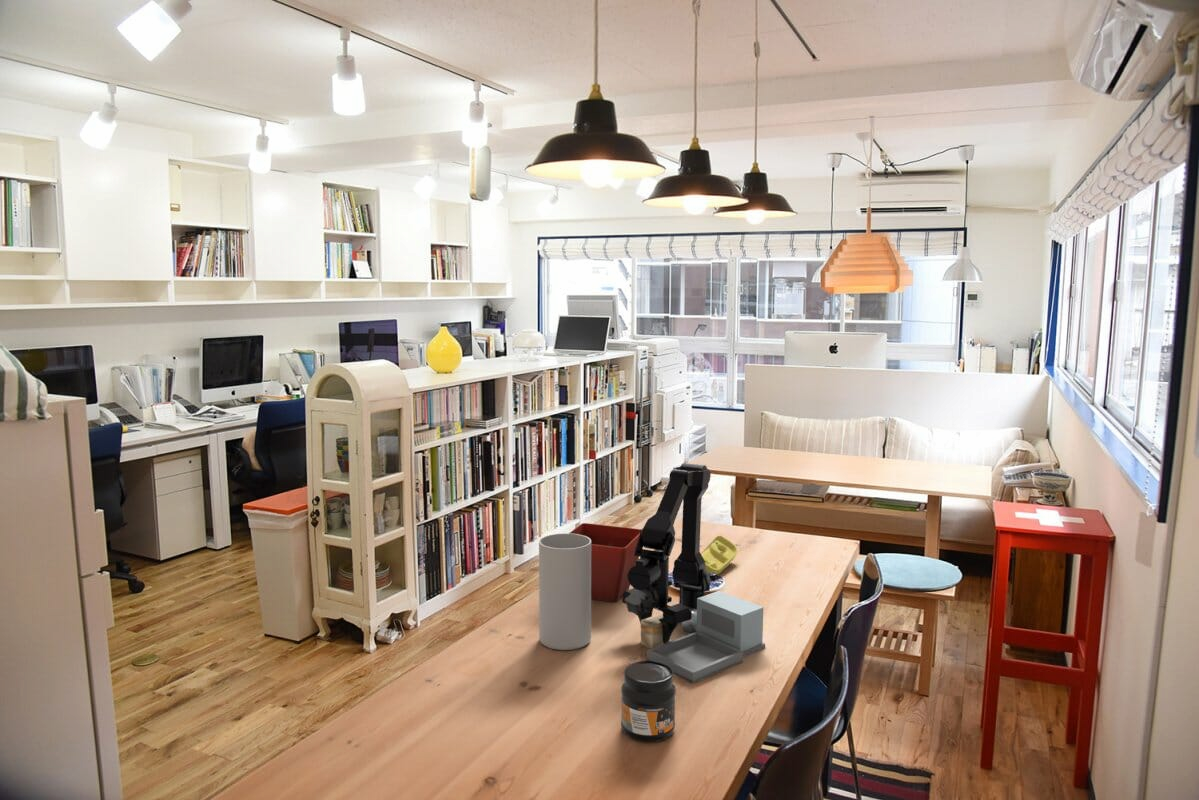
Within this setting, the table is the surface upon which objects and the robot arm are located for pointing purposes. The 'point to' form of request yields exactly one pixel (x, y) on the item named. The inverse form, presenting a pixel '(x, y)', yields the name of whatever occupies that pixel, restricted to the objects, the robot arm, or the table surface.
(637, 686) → the supplement container
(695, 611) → the chrome-capped short cylinder
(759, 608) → the box
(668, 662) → the parts tray
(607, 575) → the plant pot
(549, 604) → the cylinder vase
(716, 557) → the plastic component
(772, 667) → the table surface
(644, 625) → the block
